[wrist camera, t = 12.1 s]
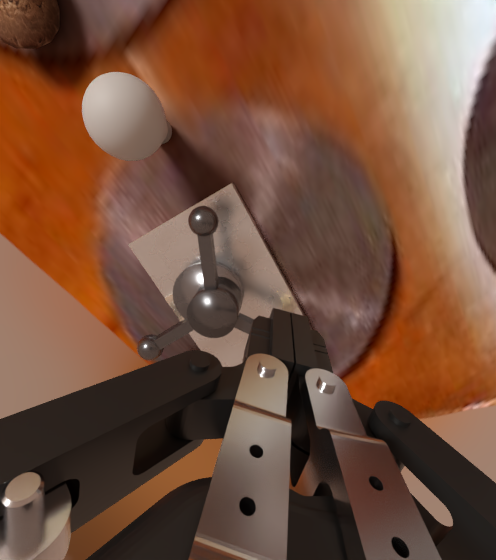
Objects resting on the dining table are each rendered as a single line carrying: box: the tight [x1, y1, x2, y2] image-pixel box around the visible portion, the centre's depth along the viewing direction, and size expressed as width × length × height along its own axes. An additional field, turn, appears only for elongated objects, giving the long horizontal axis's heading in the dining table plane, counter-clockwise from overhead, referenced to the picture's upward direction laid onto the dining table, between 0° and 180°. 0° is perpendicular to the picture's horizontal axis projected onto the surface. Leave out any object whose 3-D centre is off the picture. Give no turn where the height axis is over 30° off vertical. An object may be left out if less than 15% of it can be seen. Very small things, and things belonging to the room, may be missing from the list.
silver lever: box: [137, 206, 254, 360], centre depth 31 cm, size 18×16×6 cm
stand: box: [128, 183, 312, 367], centre depth 35 cm, size 20×14×2 cm
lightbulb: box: [82, 72, 172, 161], centre depth 25 cm, size 6×6×11 cm
